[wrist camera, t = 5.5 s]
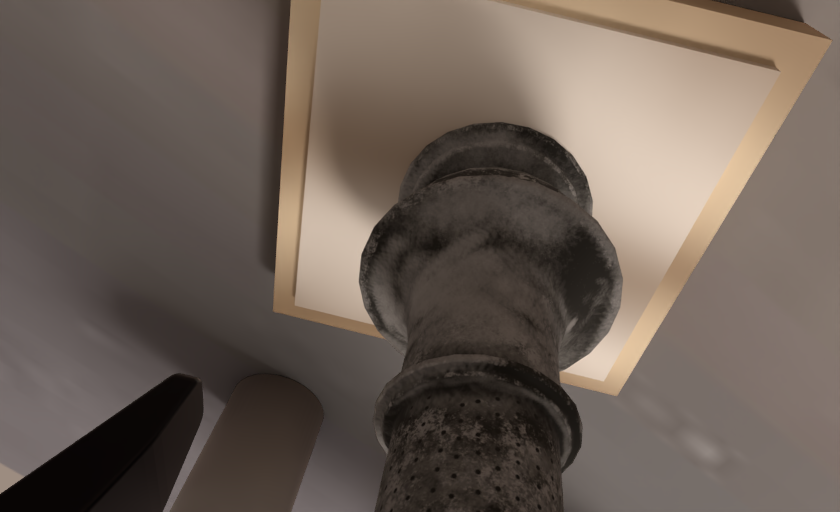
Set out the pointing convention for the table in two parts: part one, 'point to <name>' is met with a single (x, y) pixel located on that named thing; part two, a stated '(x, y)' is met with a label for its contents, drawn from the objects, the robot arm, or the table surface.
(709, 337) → the table surface
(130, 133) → the table surface
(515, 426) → the salt shaker
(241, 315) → the table surface
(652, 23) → the maple picture frame
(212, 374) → the table surface
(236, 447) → the pepper shaker
